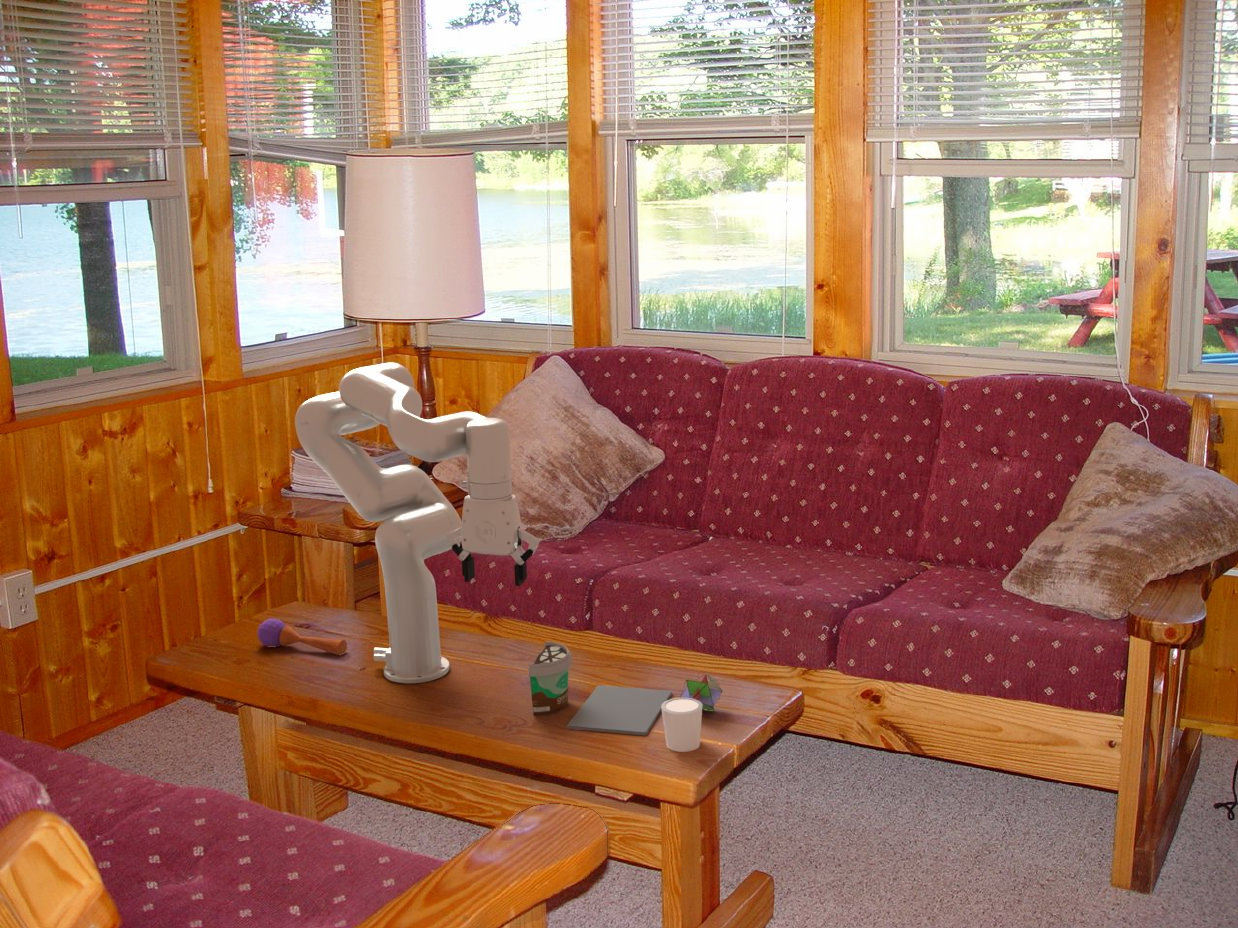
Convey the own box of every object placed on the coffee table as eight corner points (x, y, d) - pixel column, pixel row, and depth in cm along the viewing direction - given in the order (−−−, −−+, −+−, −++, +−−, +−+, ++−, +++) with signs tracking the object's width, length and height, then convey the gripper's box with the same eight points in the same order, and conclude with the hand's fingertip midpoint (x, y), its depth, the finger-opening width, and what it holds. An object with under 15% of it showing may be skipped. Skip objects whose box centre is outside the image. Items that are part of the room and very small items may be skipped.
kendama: (331, 642, 263) (249, 625, 271) (335, 668, 266) (254, 650, 273) (348, 627, 268) (267, 610, 276) (352, 652, 270) (271, 635, 278)
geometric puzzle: (705, 715, 226) (716, 670, 228) (669, 709, 229) (680, 664, 232) (720, 726, 232) (730, 682, 234) (684, 719, 235) (695, 676, 237)
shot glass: (668, 733, 224) (666, 695, 223) (708, 737, 222) (706, 698, 221) (657, 751, 218) (656, 711, 216) (698, 755, 216) (697, 715, 214)
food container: (565, 720, 231) (562, 666, 229) (531, 719, 233) (528, 665, 230) (581, 692, 243) (578, 641, 241) (548, 691, 244) (545, 640, 242)
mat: (567, 728, 228) (566, 725, 228) (598, 688, 245) (598, 685, 245) (645, 735, 224) (645, 732, 224) (671, 693, 241) (671, 690, 241)
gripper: (435, 491, 231) (441, 585, 236) (529, 497, 226) (533, 592, 231) (453, 481, 238) (458, 571, 243) (544, 486, 233) (547, 578, 238)
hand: (494, 581), depth 237 cm, fingers open, 9 cm apart
